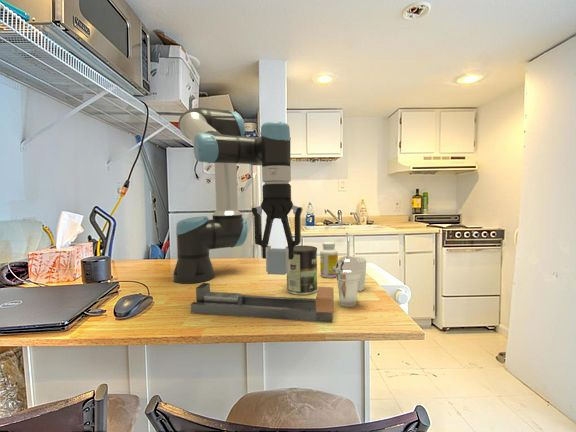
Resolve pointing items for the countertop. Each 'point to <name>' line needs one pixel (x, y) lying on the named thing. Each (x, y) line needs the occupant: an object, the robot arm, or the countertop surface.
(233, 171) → the robot arm
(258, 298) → the channel
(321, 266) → the supplement bottle
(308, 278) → the coffee can
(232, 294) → the silver metal slider block
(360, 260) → the white cup
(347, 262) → the cup with straw
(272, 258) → the block
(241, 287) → the countertop surface
